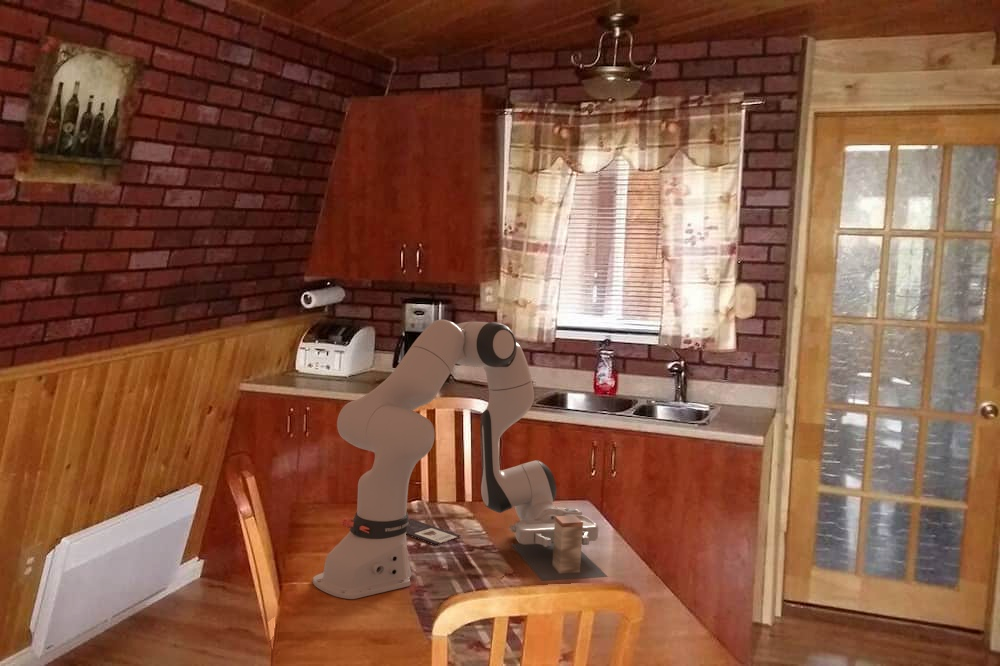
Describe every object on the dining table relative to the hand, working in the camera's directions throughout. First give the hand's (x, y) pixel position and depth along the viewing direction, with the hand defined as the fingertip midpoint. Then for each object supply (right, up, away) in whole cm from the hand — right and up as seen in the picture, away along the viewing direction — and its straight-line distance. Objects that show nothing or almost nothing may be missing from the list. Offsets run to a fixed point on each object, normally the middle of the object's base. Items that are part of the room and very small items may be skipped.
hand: (567, 542), depth 213 cm
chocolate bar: (-36, -3, +23) cm, 43 cm away
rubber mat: (-2, -6, +7) cm, 9 cm away
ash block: (0, -6, +1) cm, 6 cm away
